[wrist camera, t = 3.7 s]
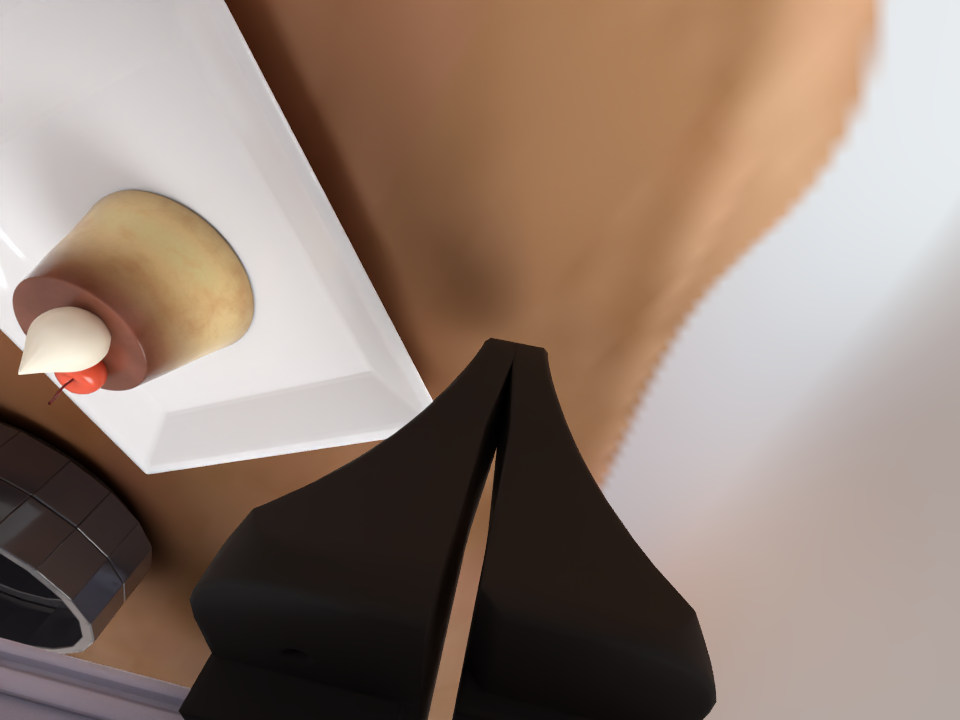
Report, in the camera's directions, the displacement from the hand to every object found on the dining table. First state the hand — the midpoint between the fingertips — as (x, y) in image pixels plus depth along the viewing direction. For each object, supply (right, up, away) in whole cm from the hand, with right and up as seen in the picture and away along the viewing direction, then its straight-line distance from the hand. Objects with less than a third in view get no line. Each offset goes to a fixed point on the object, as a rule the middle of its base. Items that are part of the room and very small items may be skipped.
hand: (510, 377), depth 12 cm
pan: (-21, -6, +11) cm, 25 cm away
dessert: (-9, +3, +2) cm, 10 cm away
